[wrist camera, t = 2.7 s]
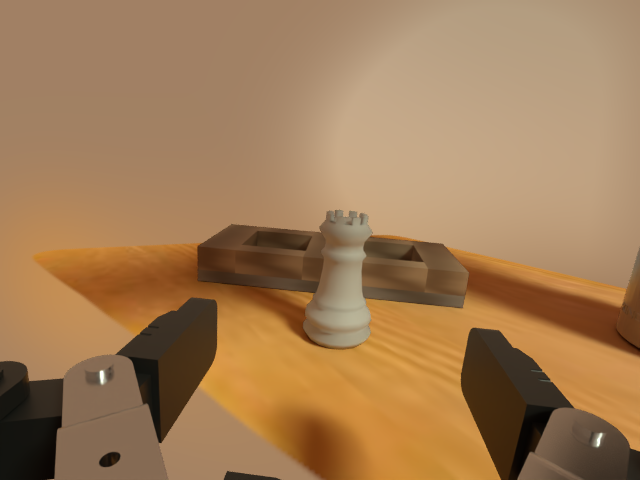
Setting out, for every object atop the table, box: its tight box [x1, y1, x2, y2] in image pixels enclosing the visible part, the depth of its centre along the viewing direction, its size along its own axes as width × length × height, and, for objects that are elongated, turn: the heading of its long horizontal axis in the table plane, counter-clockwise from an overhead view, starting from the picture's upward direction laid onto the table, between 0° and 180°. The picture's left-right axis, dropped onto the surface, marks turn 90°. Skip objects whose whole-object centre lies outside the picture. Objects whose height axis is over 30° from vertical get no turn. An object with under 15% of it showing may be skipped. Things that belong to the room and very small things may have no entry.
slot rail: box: [198, 224, 469, 308], centre depth 35 cm, size 22×9×3 cm, turn 85°
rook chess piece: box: [303, 210, 373, 349], centre depth 23 cm, size 4×4×8 cm
